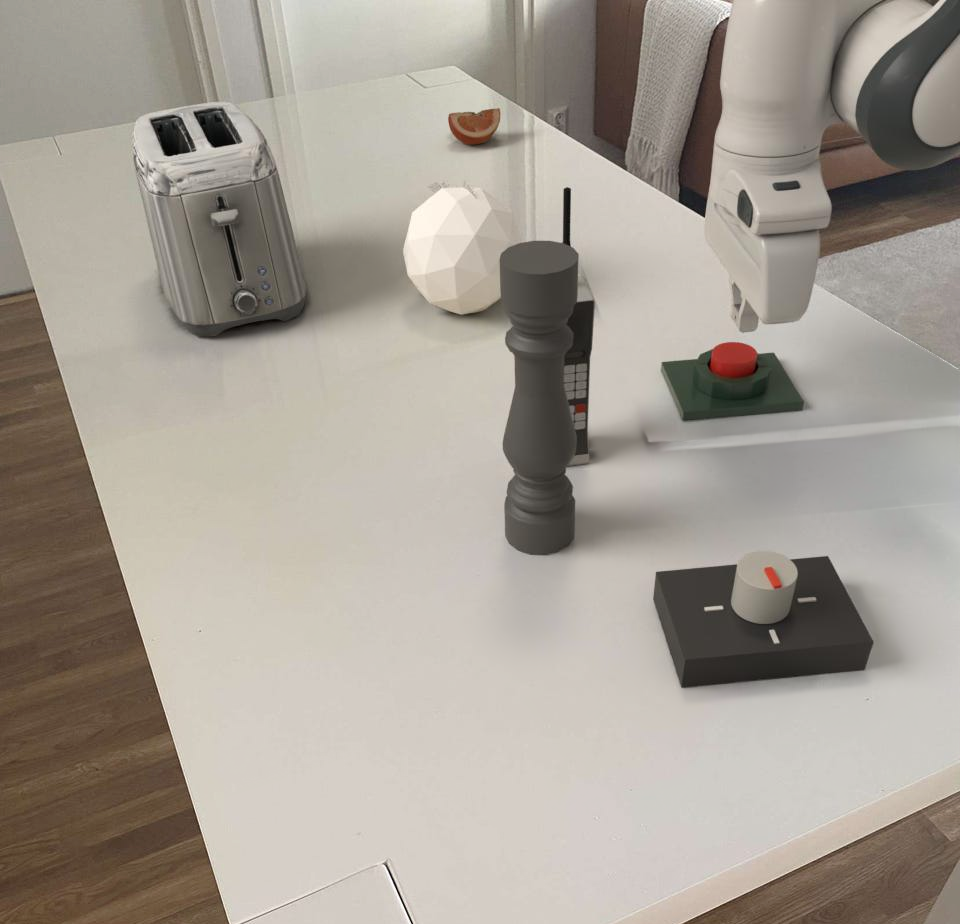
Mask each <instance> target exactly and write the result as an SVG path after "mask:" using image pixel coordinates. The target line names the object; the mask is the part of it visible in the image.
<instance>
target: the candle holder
mask: <svg viewBox="0 0 960 924" xmlns="http://www.w3.org/2000/svg"><path fill="white" fill-rule="evenodd" d="M579 254H580V253H578V251H577V250H576V249H575V248H574V247H572V246H571V247H570V246H568V245H566V244H564V243H563V242H559V241H553V240H529V241H522V243H519V244H516V245H513V246H511V247H508V248H507V249H506V250H505V251H503V252H502V253H501V256H500V291H501V298H500V303H501V304H502V306H503V307H504V312H505V314H506V316H507V317H508V319H509V321H510V324H511V327H510V328H509V329H508V330H507V331H506V332H505V337H504V344H505V347H506V348H507V349H508V351H509V352H510V353H512V355H513V357H514V390H513V394H512V397H511V398H512V399H511V403H510V408H509V411H508V416H507V421H506V425H505V429H504V433H503V439H502V451H503V454H504V456H505V459H506V460H507V462H508V464H509V465H510V467H511V468H512V469H513V471H512V472H513V474H514V475H513V476H512V478H511V479H510V480H509V481H508V483H507V486H506V487H507V488H506V496H505V500H504V504H503V505H504V506H503V508H504V509H503V511H504V536H505V538H506V541H507V543H508V544H509V545H510V546H511V547H512V548H514V549H515V550H516V551H518V552H522V553H525V554H527V555H533V556H547V555H550V554H556V553H559V552H560V551H562V550H564V549H566V548H567V547H569V546H570V544H571V543H572V542H573V541H574V540H575V531H576V498H575V497H574V495H573V492H574V485H573V483H572V482H571V480H570V478H569V477H568V476H567V475H566V472H567V467H569V466H568V465H569V464H570V462H571V461H572V459H573V458H574V455H575V452H576V444H577V436H576V432H575V428H574V424H573V420H572V416H571V412H570V407H569V403H568V399H567V395H566V391H565V387H564V355H565V354H566V352H567V351H568V350H569V349H570V348H571V347H572V344H573V336H574V333H573V332H572V330H571V329H570V328H569V327H568V326H567V325H566V324H567V322H568V318H569V317H570V316H571V315H572V313H573V307H574V305H575V304H576V303H577V296H578V276H579Z"/></svg>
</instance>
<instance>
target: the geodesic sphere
mask: <svg viewBox="0 0 960 924" xmlns="http://www.w3.org/2000/svg"><path fill="white" fill-rule="evenodd" d="M427 188H428V189H429V191H431V192H432V193H433V195H431V197H429V198H427V200H426V201H424V202H423V203H422V204H421V205H419V206H418V207H417V208H416V209H415V210H414V211H412V212H411V216H410V220H409V224H408V229H407V232H406V236H405V240H404V244H403V249H402V253H403V254H402V255H403V259H404V263H405V268H406V273H407V276H408V278H409V279H410V281H411V282H412V284H413V285H414V287H415V288H416V289H417V290H418V291H419V293H420V294H421V295H422V296H423V297H424V299H426V300H427V302H428V303H429V304H431V305H434V306H435V307H438V308H441V309H443V310H445V311H448V312H451V313H454V314H457V315H460V316H461V315H462V316H463V315H468V314H473V313H479V312H484V311H485V310H487V309H488V308H489V307H491V306H492V305H493V304H495V303H497V302H498V301H499V300H501V291H500V256H501V253H502V252H503V251H505V250H506V249H507V248H508V247H511V246H513V245H516V244H519V243H523V239H522V237H521V233H520V229H519V226H518V223H517V221H516V218H515V214H514V212H513V211H512V210H511V209H509V208H508V207H507V206H506V205H504V203H502V202H500V201H499V199H497V198H496V197H494V195H492V194H491V193H489V192H487V191H486V190H485V189H483V188H482V187H475V186H473V187H472V186H470V184H469V183H467V181H466V180H464V182H463V186H458V185H457V184H452V186H451V184H450V183H449V182H447V183H445V182H443V181H441V184H440V183H439V182H436V181H434V183H430V185H427Z"/></svg>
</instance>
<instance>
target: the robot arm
mask: <svg viewBox="0 0 960 924" xmlns="http://www.w3.org/2000/svg"><path fill="white" fill-rule="evenodd" d="M722 53H723V54H722V59H721V60H722V62H721V70H720V80H719V87H720V88H719V89H720V94H721V105H722V106H721V115H720V119H719V121H718V125H717V127H716V129H715V134H714V141H713V151H712V162H711V170H710V171H711V173H710V181H709V183H710V184H709V187H708V194H707V200H706V208H705V213H704V214H705V216H704V222H703V223H704V224H703V229H704V231H703V232H704V239H705V242H706V243H707V245H708V246H709V248H710V249H711V250H712V253H714V255H715V257H717V260H718V261H719V262H720V263H721V266H723V268H724V269H725V271H726V273H727V274H728V275H729V279H728V283H729V290H730V291H729V292H730V299H731V306H730V307H731V308H730V315H729V316H730V318H731V320H732V321H733V323H734V325H735V326H736V327H737V330H738V331H739V332H740V333H742V334H744V333H752V332H755V331H756V330H757V329H758V326H759V320H760V321H761V323H762V324H764V325H781V324H789V323H795V322H798V321H801V319H802V318H803V316H804V315H805V314H806V313H807V310H808V308H809V305H810V301H811V297H812V293H813V290H814V285H815V280H816V276H817V269H818V264H819V259H820V254H821V235H820V231H819V230H820V229H825V228H828V226H829V224H830V221H831V217H832V211H833V205H832V201H831V198H830V196H829V194H828V191H827V188H826V186H825V183H824V179H823V175H822V164H821V161H820V160H819V158H820V152H821V147H822V141H823V135H824V133H825V131H826V129H827V128H829V127H830V126H832V125H839V124H840V125H843V124H846V125H847V126H849V128H851V129H852V130H854V131H855V132H856V133H857V134H858V135H860V136H861V138H862V139H863V140H864V142H865V143H866V144H867V145H868V146H869V147H870V148H871V149H872V151H873V153H874V154H875V155H876V156H877V157H878V158H879V159H880V160H881V161H882V162H883V163H885V164H886V165H888V166H890V167H892V168H895V169H898V170H904V171H920V170H925V169H929V168H933V167H937V166H940V165H942V164H943V163H946V162H948V161H950V160H951V159H953V158H954V157H956V156H958V155H959V154H960V0H938V1H937V2H936V3H935V4H934V5H932V4H930V3H929V2H928V1H926V0H732V2H731V7H730V12H729V16H728V22H727V26H726V32H725V38H724V46H723V52H722Z"/></svg>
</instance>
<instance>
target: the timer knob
mask: <svg viewBox="0 0 960 924" xmlns="http://www.w3.org/2000/svg"><path fill="white" fill-rule="evenodd" d="M736 564H737V569H736V575H735V580H734V586H733V592H732V598H731V605H732V608H733V610H734V611H735V612H736V614H738V615H739V616H740V617H741V618H743V619H745V620H747V621H750V622H753V623H758V624H772V623H776V622H779V621H781V620H782V619H784V618H785V617H786V616H787V615H788V613H789V611H790V607H791V603H792V598H793V594H794V590H795V585H796V581H797V577H798V571H797V568H796V566H795V564H794V563H793V562H792V561H791V560H790V558H788V557H787V556H786V555H783V554H780V553H777V552H773V551H768V550H759V551H753V552H750V553H747V554H745V555H744V556H742V557H741V558H740V559H739V560H738V562H737V563H736Z"/></svg>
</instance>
